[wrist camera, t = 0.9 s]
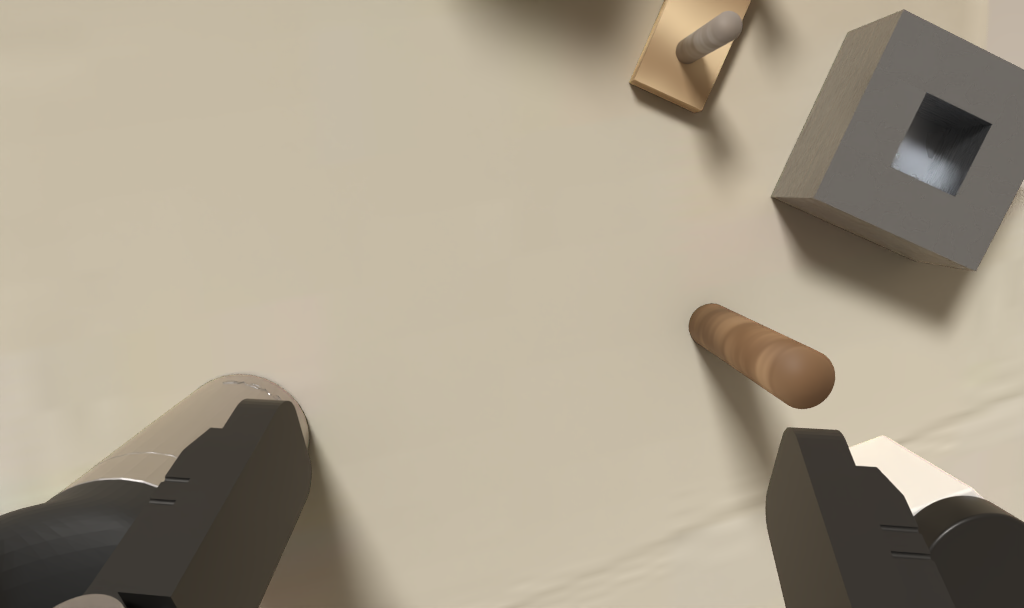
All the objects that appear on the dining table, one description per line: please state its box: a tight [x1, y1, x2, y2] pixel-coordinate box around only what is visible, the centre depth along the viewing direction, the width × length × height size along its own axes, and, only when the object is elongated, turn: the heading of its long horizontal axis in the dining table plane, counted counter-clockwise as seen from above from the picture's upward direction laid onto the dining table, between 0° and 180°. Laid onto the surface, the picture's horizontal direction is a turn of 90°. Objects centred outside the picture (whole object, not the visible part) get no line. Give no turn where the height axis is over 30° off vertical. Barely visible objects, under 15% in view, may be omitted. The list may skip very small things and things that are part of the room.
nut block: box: [771, 10, 1024, 271], centre depth 45 cm, size 12×12×6 cm
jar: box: [849, 435, 1024, 608], centre depth 46 cm, size 9×8×12 cm
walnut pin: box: [689, 304, 835, 409], centre depth 42 cm, size 3×3×14 cm
